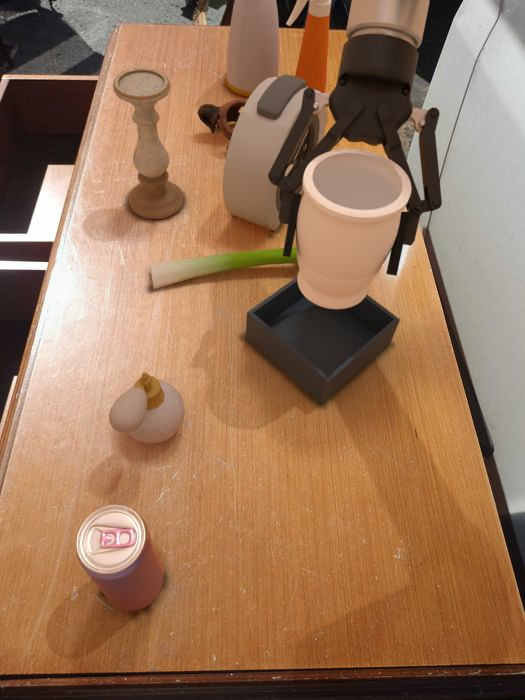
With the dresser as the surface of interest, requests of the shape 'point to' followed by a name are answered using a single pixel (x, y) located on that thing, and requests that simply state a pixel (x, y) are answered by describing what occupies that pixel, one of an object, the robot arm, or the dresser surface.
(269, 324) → the tray
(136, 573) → the beverage can
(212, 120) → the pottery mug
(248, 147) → the alarm clock
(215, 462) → the dresser surface
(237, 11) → the soap bottle
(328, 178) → the jar
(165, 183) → the candle holder
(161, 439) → the perfume bottle
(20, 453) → the dresser surface
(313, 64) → the spray bottle
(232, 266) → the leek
